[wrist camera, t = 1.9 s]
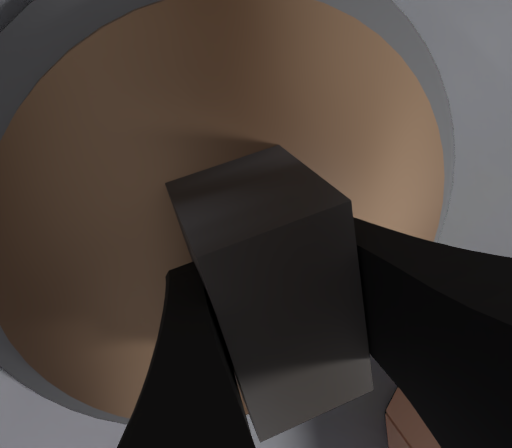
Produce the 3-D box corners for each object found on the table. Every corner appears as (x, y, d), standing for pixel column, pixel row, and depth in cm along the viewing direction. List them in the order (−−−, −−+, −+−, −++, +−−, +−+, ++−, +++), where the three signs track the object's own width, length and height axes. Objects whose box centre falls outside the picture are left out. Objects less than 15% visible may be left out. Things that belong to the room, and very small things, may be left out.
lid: (104, 458, 14) (111, 612, 11) (-147, 78, 8) (-323, 143, 5) (429, 316, 16) (524, 404, 13) (421, -68, 10) (598, -102, 7)
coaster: (86, 481, 15) (86, 489, 15) (-240, 34, 8) (-251, 34, 7) (446, 320, 17) (452, 325, 17) (450, -128, 10) (459, -131, 10)
